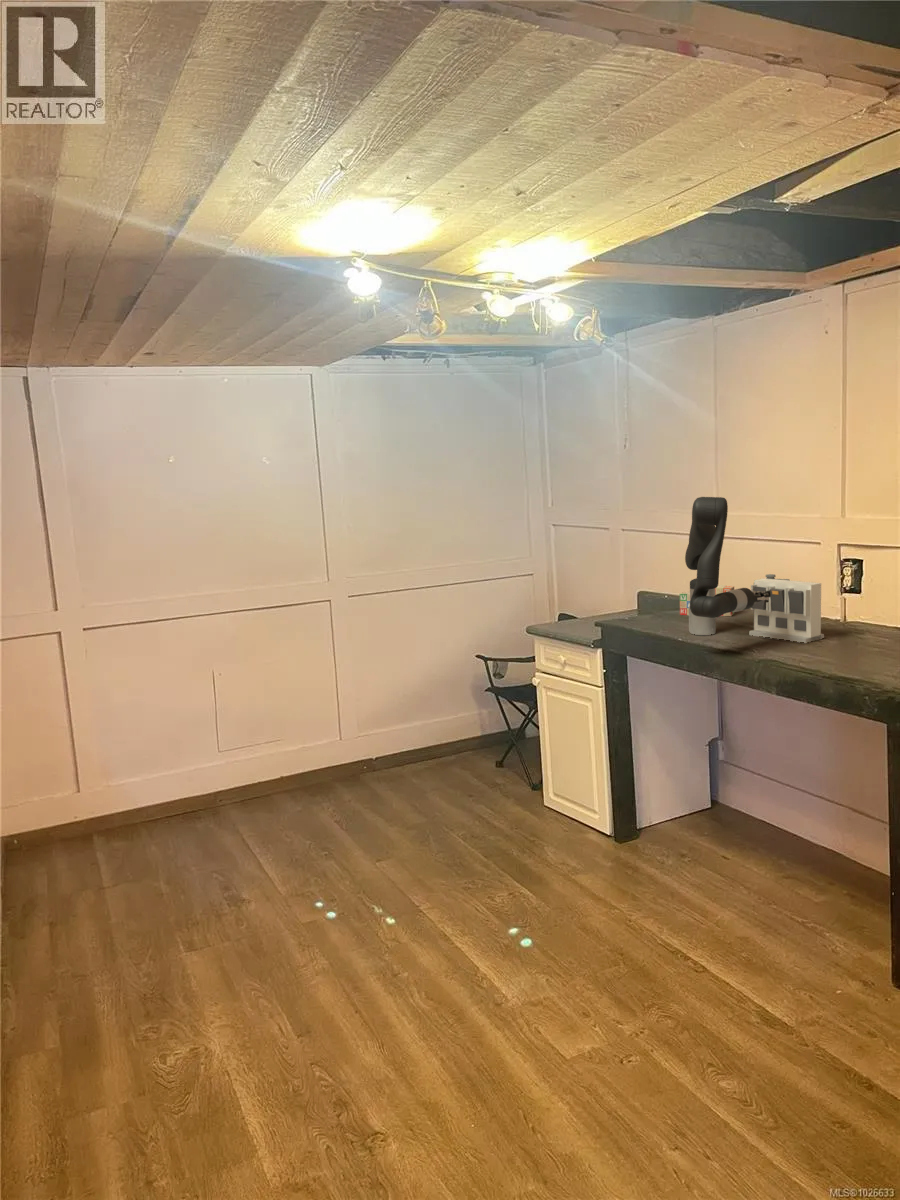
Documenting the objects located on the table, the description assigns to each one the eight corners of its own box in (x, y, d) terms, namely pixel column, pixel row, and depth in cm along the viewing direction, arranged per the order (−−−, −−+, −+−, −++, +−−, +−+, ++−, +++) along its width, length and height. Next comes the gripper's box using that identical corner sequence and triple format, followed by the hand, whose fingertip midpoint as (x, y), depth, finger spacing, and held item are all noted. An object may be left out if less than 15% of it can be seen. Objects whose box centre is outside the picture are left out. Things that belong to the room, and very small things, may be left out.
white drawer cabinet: (767, 630, 337) (767, 577, 334) (823, 638, 318) (824, 582, 315) (749, 635, 330) (749, 581, 327) (805, 643, 312) (806, 586, 309)
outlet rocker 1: (774, 609, 323) (771, 588, 321) (787, 610, 319) (784, 589, 317) (771, 610, 322) (768, 590, 320) (784, 612, 318) (781, 591, 316)
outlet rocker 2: (793, 611, 317) (790, 590, 315) (806, 612, 313) (803, 591, 311) (790, 612, 316) (787, 591, 314) (803, 614, 312) (800, 592, 310)
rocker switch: (753, 608, 328) (757, 587, 328) (765, 610, 324) (768, 588, 324) (751, 608, 327) (754, 586, 327) (763, 609, 323) (766, 587, 323)
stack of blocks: (679, 615, 379) (679, 586, 377) (683, 612, 384) (683, 584, 382) (731, 617, 368) (730, 587, 366) (734, 614, 373) (734, 585, 371)
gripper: (754, 590, 300) (785, 584, 310) (721, 587, 311) (752, 581, 320) (754, 613, 301) (785, 606, 311) (721, 609, 312) (752, 602, 322)
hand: (768, 593), depth 316 cm, fingers closed
